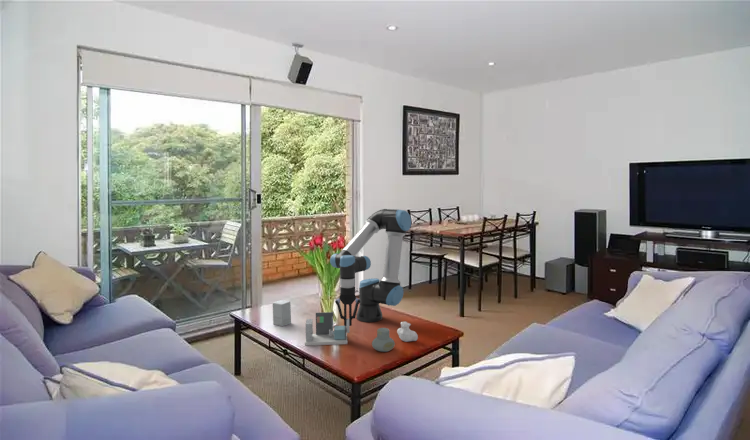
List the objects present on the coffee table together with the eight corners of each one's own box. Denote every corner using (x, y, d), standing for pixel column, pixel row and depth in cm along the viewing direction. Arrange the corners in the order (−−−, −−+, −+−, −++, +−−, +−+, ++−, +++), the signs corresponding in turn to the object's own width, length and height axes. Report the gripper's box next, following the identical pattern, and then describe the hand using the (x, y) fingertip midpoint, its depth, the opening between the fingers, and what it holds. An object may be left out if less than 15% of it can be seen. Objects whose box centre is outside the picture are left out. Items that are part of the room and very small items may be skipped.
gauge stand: (346, 335, 240) (346, 311, 238) (347, 344, 228) (347, 318, 227) (306, 337, 238) (305, 312, 237) (304, 345, 226) (304, 319, 225)
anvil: (312, 335, 235) (312, 318, 234) (312, 341, 227) (311, 323, 226) (306, 336, 235) (306, 319, 234) (305, 341, 227) (305, 324, 226)
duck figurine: (396, 342, 236) (388, 328, 230) (403, 330, 241) (395, 317, 234) (416, 347, 229) (408, 334, 223) (422, 335, 233) (415, 321, 227)
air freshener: (386, 344, 227) (386, 325, 226) (397, 349, 220) (397, 329, 219) (369, 349, 220) (368, 329, 219) (379, 355, 214) (379, 334, 213)
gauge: (346, 333, 238) (345, 315, 237) (346, 339, 230) (346, 320, 229) (329, 334, 237) (329, 316, 236) (329, 339, 229) (328, 321, 228)
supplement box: (291, 323, 261) (291, 301, 259) (282, 326, 254) (281, 304, 253) (281, 320, 265) (281, 299, 263) (272, 324, 258) (272, 302, 257)
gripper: (360, 284, 234) (360, 329, 237) (334, 284, 233) (334, 329, 235) (361, 287, 227) (361, 334, 229) (334, 288, 226) (335, 334, 228)
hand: (347, 331), depth 232 cm, fingers closed
